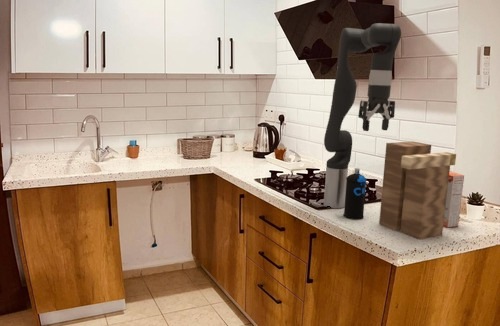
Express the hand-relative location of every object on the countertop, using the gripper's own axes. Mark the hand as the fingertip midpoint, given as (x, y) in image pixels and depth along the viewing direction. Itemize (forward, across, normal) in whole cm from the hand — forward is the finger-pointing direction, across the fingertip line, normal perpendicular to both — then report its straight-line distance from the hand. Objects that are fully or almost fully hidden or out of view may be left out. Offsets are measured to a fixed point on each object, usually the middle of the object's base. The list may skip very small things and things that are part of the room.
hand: (375, 130), depth 166 cm
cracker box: (+38, -37, +2) cm, 53 cm away
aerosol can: (+39, -9, -17) cm, 43 cm away
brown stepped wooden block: (+38, -19, +3) cm, 43 cm away
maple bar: (+12, -17, +10) cm, 23 cm away
